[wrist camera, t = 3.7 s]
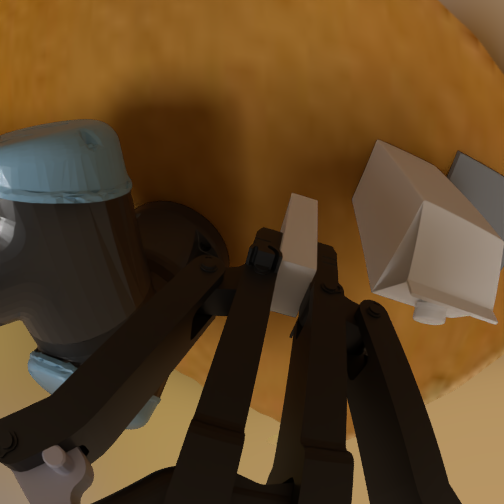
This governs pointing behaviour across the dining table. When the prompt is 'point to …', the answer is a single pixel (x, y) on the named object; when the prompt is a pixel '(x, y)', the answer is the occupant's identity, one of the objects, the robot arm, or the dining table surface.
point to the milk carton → (425, 239)
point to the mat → (480, 190)
